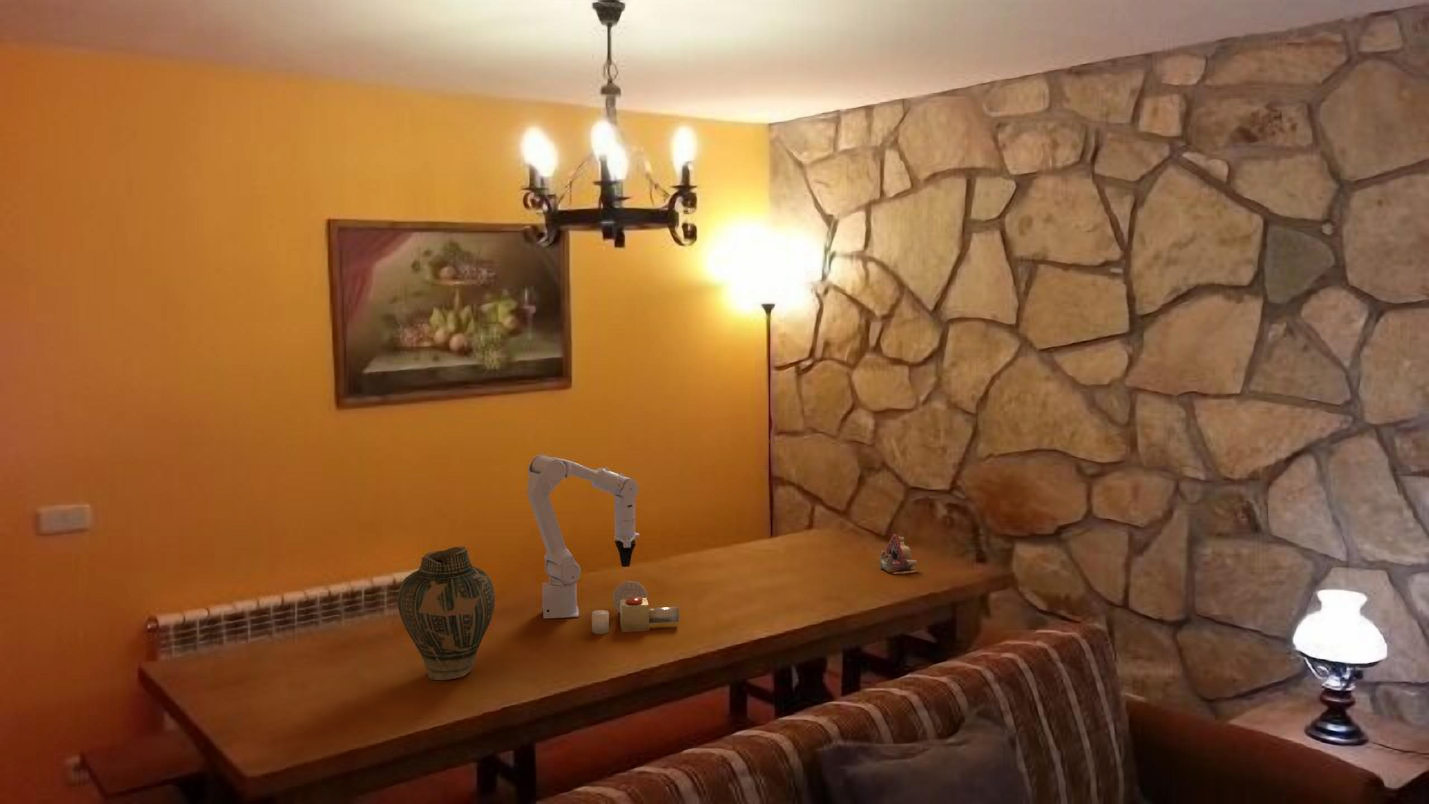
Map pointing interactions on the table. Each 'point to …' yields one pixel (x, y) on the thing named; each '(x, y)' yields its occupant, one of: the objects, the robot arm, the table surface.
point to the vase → (447, 611)
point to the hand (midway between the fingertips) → (625, 566)
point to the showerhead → (628, 592)
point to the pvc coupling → (600, 621)
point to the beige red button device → (643, 614)
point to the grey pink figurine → (897, 557)
